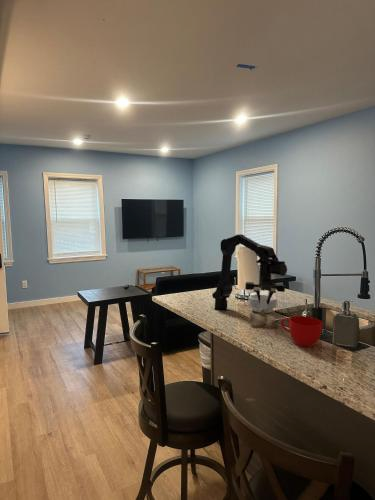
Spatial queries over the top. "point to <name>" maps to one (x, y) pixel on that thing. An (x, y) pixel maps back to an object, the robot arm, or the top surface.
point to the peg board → (259, 321)
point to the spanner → (263, 302)
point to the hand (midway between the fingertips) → (263, 303)
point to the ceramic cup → (304, 330)
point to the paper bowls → (255, 304)
